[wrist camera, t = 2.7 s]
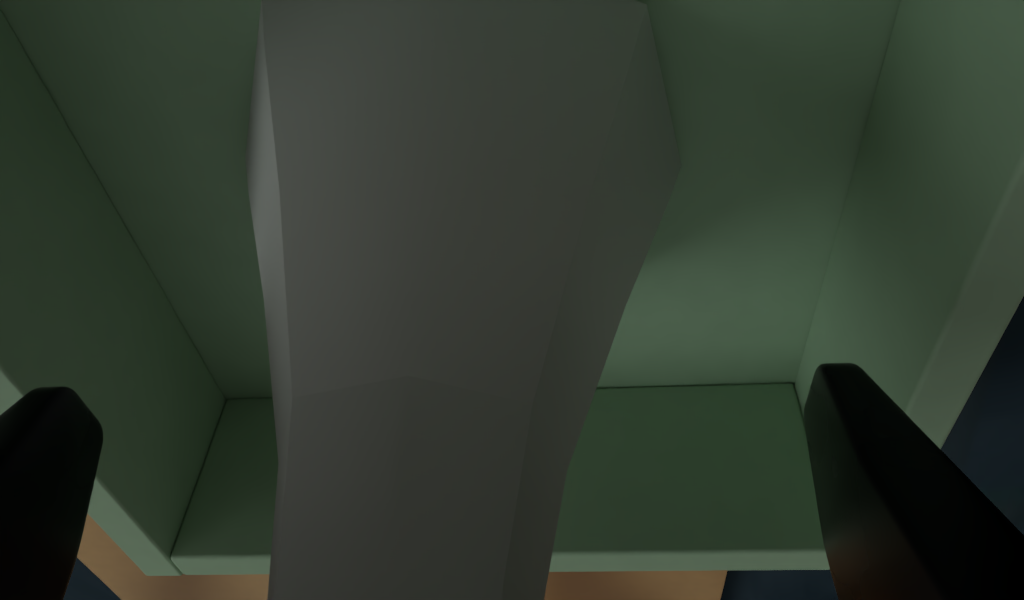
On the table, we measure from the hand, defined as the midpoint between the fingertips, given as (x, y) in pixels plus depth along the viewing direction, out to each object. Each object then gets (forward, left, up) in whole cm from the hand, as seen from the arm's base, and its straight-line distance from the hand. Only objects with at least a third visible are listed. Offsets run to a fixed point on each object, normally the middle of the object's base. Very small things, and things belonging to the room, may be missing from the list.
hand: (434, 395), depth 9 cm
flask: (0, 0, -5) cm, 5 cm away
